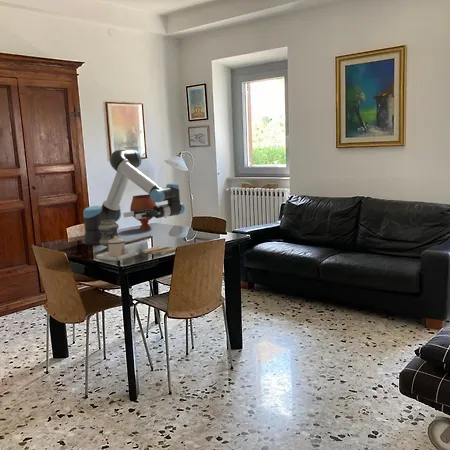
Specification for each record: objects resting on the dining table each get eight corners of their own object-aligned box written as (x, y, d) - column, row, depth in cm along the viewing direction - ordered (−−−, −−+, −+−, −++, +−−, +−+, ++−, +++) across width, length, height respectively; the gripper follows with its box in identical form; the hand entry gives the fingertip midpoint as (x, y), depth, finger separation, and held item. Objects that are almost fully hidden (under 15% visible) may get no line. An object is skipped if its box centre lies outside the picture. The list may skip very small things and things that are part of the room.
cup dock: (87, 256, 274) (87, 254, 274) (109, 250, 288) (109, 248, 287) (116, 260, 261) (116, 258, 261) (138, 254, 275) (138, 251, 274)
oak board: (141, 252, 279) (141, 250, 278) (157, 247, 290) (157, 245, 290) (162, 255, 270) (162, 253, 270) (178, 250, 281) (178, 247, 281)
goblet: (126, 230, 355) (124, 197, 351) (141, 226, 372) (139, 194, 368) (148, 231, 347) (146, 197, 343) (163, 227, 364) (160, 194, 360)
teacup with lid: (125, 257, 268) (123, 237, 266) (108, 259, 266) (106, 238, 264) (125, 253, 279) (124, 233, 277) (109, 254, 278) (107, 234, 276)
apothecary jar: (100, 249, 294) (97, 219, 291) (120, 247, 297) (118, 218, 294) (100, 253, 283) (97, 222, 280) (121, 251, 285) (118, 221, 282)
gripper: (173, 219, 280) (141, 224, 267) (150, 215, 299) (119, 220, 285) (172, 206, 279) (140, 210, 265) (149, 203, 298) (118, 208, 284)
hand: (129, 216), depth 275 cm, fingers open, 13 cm apart
